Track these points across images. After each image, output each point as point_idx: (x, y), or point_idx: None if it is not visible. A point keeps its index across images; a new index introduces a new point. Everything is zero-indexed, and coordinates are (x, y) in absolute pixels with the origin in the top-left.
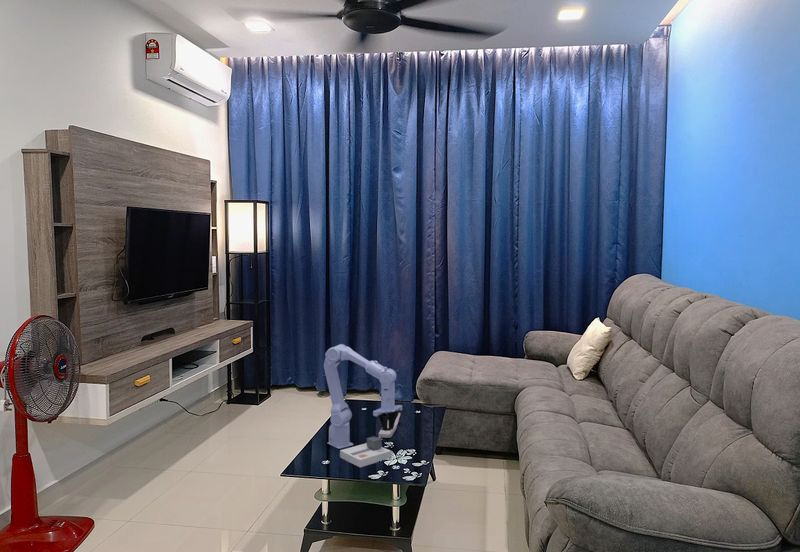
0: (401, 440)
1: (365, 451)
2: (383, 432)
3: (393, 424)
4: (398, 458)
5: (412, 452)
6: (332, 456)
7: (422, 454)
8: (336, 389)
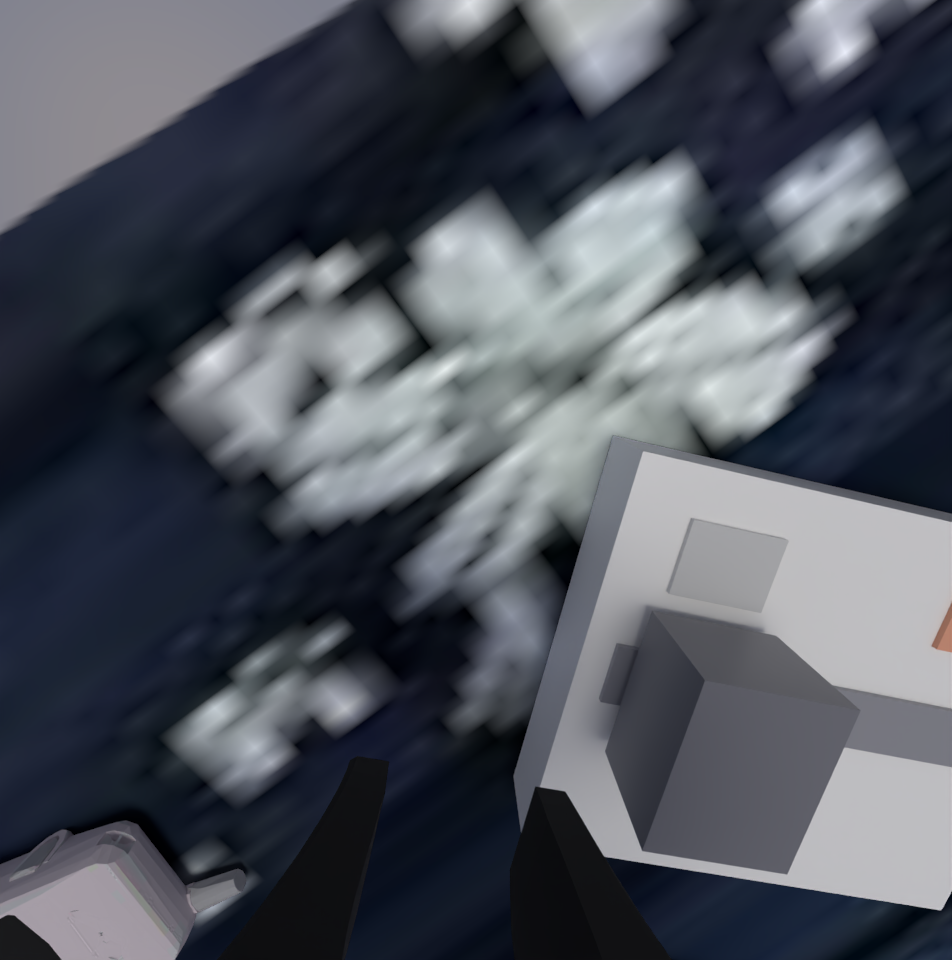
0: (66, 684)
1: (846, 689)
2: (121, 937)
3: (344, 839)
4: (576, 351)
5: (294, 329)
6: None
7: (261, 164)
8: None
